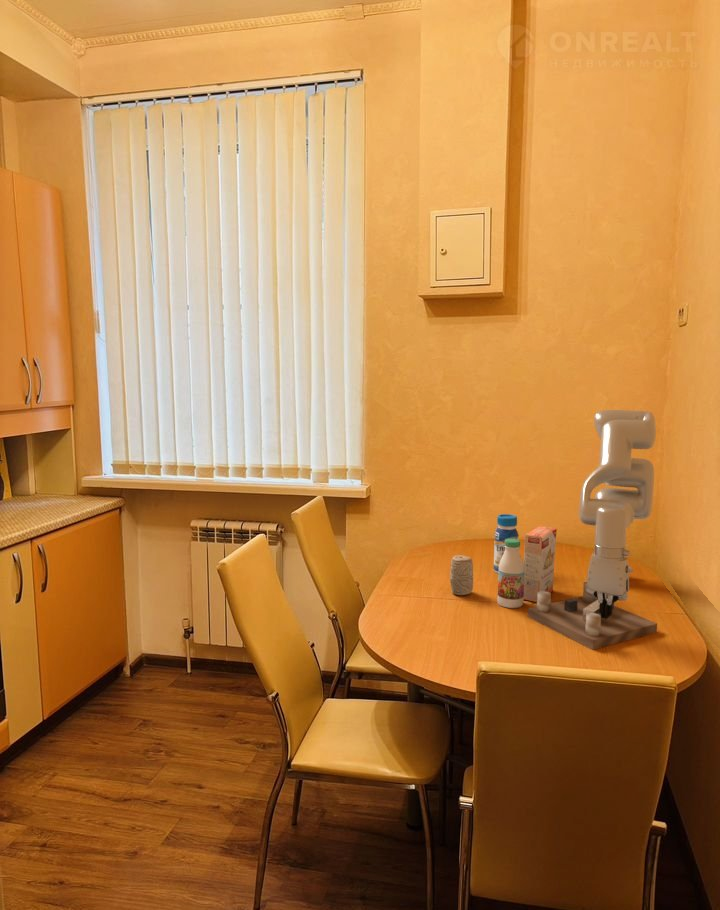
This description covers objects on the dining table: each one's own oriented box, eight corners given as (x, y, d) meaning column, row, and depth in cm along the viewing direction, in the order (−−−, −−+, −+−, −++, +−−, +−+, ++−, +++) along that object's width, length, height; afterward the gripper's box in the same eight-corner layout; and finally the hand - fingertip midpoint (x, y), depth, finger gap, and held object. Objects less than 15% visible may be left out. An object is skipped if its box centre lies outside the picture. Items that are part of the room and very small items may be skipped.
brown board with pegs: (588, 603, 191) (589, 579, 190) (656, 632, 170) (658, 605, 169) (527, 616, 180) (528, 591, 179) (592, 649, 159) (594, 621, 158)
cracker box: (540, 604, 190) (543, 537, 187) (521, 599, 194) (523, 534, 191) (554, 590, 202) (557, 527, 199) (536, 587, 205) (538, 524, 202)
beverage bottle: (516, 568, 224) (518, 513, 221) (518, 576, 216) (520, 519, 213) (492, 567, 225) (494, 512, 223) (493, 574, 217) (495, 518, 214)
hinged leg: (604, 604, 183) (605, 589, 182) (615, 606, 180) (616, 592, 180) (582, 619, 171) (583, 604, 171) (593, 622, 169) (594, 607, 169)
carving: (445, 591, 200) (446, 555, 199) (466, 588, 203) (467, 553, 201) (455, 598, 194) (456, 561, 193) (476, 595, 197) (477, 558, 195)
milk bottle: (493, 599, 193) (496, 537, 191) (518, 599, 194) (520, 536, 191) (501, 609, 186) (504, 544, 183) (526, 608, 186) (529, 543, 184)
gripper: (642, 553, 166) (638, 619, 169) (586, 543, 175) (583, 606, 178) (634, 560, 160) (629, 628, 163) (576, 549, 170) (573, 614, 172)
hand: (605, 616), depth 170 cm, fingers closed
